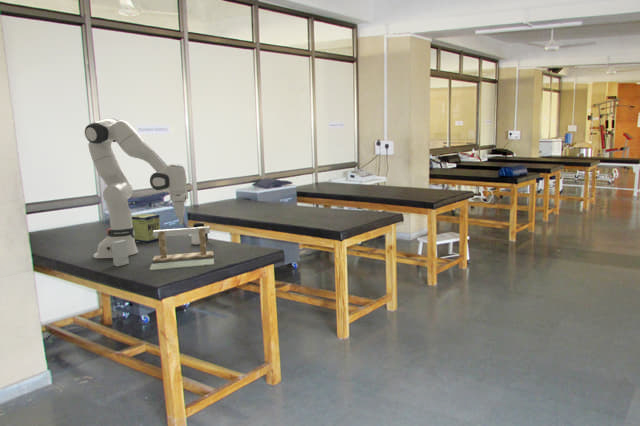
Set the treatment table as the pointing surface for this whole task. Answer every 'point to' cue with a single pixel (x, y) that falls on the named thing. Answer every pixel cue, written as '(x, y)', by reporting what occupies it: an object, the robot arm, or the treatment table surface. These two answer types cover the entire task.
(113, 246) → the skincare box
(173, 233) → the aluminium rail
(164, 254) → the hook rack
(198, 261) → the sage mat
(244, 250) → the treatment table surface
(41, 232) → the treatment table surface
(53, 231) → the treatment table surface
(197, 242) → the medicine bottle
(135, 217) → the protein box
